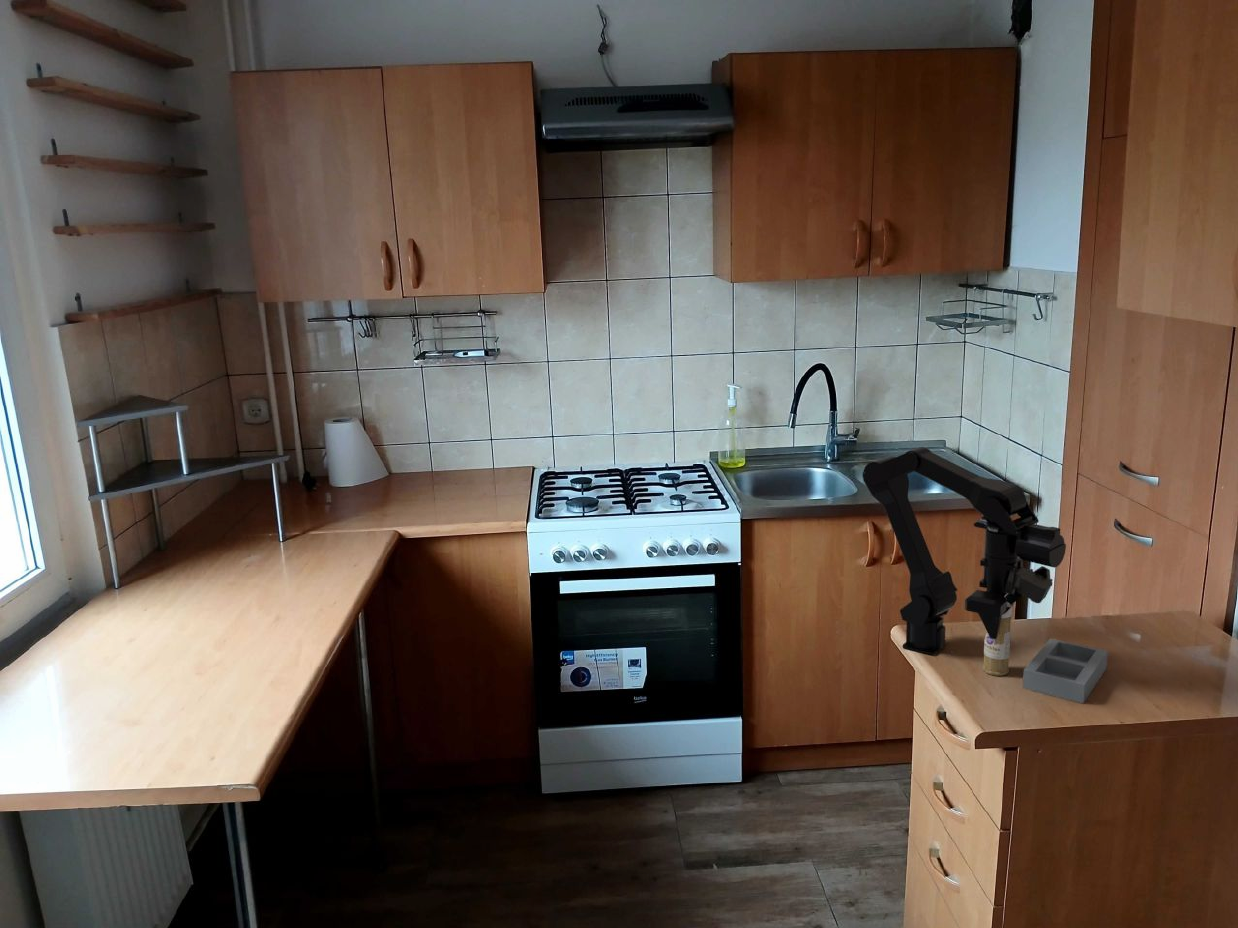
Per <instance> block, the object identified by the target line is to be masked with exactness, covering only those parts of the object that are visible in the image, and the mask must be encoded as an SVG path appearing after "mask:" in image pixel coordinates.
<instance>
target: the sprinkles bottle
mask: <svg viewBox="0 0 1238 928" xmlns="http://www.w3.org/2000/svg"><path fill="white" fill-rule="evenodd" d="M1007 607H1011V608H1010V609H1009V610H1008V611H1007V612H1006V613H1005V614H1003V615H1002V618H1001V622H1000V627H999V631H998V635H997V638H996V639H992V638H990V637H989V635H988V632H987V630H986V628H984V629H985V631H984V642H983V643H984V644H983V666H982V669H983V672H985V673H986V674H988V675H991V676H996V677H998V676H1001V677H1002V676H1005V675H1007V674H1009V671H1010V670H1009V662H1010V661H1009V660H1010V659H1009V658H1010V649H1011V648H1010V646H1011V624H1012V623H1011V622H1012V616H1013V608H1012V605H1011V604H1010V603H1008V602H1007Z"/></svg>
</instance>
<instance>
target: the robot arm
mask: <svg viewBox="0 0 1238 928" xmlns="http://www.w3.org/2000/svg"><path fill="white" fill-rule="evenodd" d="M913 472H915V473H917V474H919V475H920V476H923V477H924V478H927V479H929V480H931V481H933V482H934V483H937V484H938V485H940V486H942V487H944V488H946V489H948V490H950V491H951V492H954V493H955V494H957V495H960V496H961V497H963V498H964V499H966V500H967V501H969V503H970V504H971V505H972V507H973V508H974V510H976V511H977V512H978V513H980V514H981V515H982V516H981V518H979V520H977V521H976V522H974V523H973V527H975V528H979V529H984V530H985V531H984V551H983V552H984V554H983V555H984V556H983V558H981V559H980V561H979V562H980V563H979V566H980V567H983V578H982V579H981V580H980V581H979V583H978V584H979V585H978V586H979V588H985V589H986V590H979V589H976V590H975V591H973V592H972V593H971V594H970V595H968V597H966V598H965V599H964V600H965V601H964V610H966V611H967V612H971V613H976V614H977V615H978V616H979V618H980V620H981V622H982V623H983V627H984V629H986V630H987V632H988V635H989V637H990V638H992V639H996V638H997V635H998V631H999V627H1000V622H1001V618H1002V615H1003V614H1005V613H1006V612H1007V611H1008V610H1009V609H1010V608H1011V607H1007V602H1008V603H1010V604H1011V605H1012V609H1013V607H1014V605H1015V602H1018V601H1019V600H1021V599H1022V598H1023V596H1024V597H1026V598H1028V599H1029V600H1030V601H1031V602H1033V603H1035V604H1041V602H1042V601H1043V600H1044V599H1045V598H1046V597H1047V595H1048V593H1049V591H1050V589H1051V587H1053V579H1052V578H1051V571H1050V569H1049V568H1047V567H1050V568H1057V567H1059V566H1060V565H1061V564H1062V561H1063V560H1064V557H1065V554H1066V549H1067V544H1066V543H1065V539H1064V537H1063V535H1061V528H1060V527H1056V526H1046V525H1041V524H1038V523H1039V519H1038V517H1037V516H1036V514H1035V512H1034V510H1033V509H1032V507H1031V506H1030V504H1029V502H1028V500H1027V496H1026V495H1025V491H1024V490H1023V488H1021V487H1020V486H1019V485H1017V484H1014V483H1010V482H1007V481H1004V480H1001V479H995V478H989V477H988V478H987V477H984V476H980V475H978V474H976V473H974V472H972V471H970V470H968V469H966V468H965V467H962V466H961V465H958V464H956V463H954V462H951V461H950V460H947V459H946V458H944V457H942V456H940V455H937V454H936V453H933V452H932V451H931V450H930V449H929V448H926V447H923V446H920V447H916V448H914V449H910V450H907V451H906V452H904V453H903V454H901V455H898V456H891V455H890V456H887V457H883V458H880V459H876V460H873V461H870V462H868V463H867V464H866V465H865V466H864V468H863V471H862V475H861V476H862V480H863V483H864V484H865V485H866V488H867V490H868V491H869V493H870V495H871V496H872V497H873V498H874V499H875V500H876V501H878V503H880V504H881V505H882V507H883V508H884V511H885V513H886V515H887V518H888V520H889V523H890V526H891V529H892V531H893V533H894V536H895V538H896V542H897V544H898V546H899V549H900V551H901V555H902V557H903V559H904V561H905V563H906V566H907V569H908V572H909V575H910V576H909V586H908V593H909V596H910V600H911V601H910V602H908V603H907V604H906V605H905V606H903V607H902V608H901V609H899V612H900V616H901V619H902V621H904V622H905V623H906V624H905V625H906V628H905V630H906V631H905V642H904V643H903V644H902V648H903V649H907V650H911V651H914V652H919V653H922V654H927V655H930V656H935V655H936V654H937V653H938V652H939V651H940V650H941V649H942V648H944V647H945V645H947V644H946V643H947V641H946V626H945V625H944V617H943V616H946V615H948V613H949V611H950V609H952V608H953V607H954V606H955V604H956V601H958V599H957V598H958V597H957V596H958V595H957V591H958V588H957V587H956V586H955V583H954V581H953V577H952V575H951V573H950V571H948V570H947V571H945V572H942V571H941V570H940V569H939V568H938V567H937V566H936V565H935V562H934V560H933V558H932V555H931V553H930V551H929V547H928V545H927V542H926V540H925V537H924V535H923V532H922V529H921V528H920V524H919V523H918V520H917V517H916V515H915V513H914V510H913V507H912V505H911V502H910V499H909V488H910V487H909V486H910V481H909V476H908V474H911V473H913ZM1015 516H1018V518H1015V519H1012V518H1013V517H1015ZM1024 561H1025V562H1029V563H1034V564H1039V565H1041V566H1040V567H1038V568H1037V569H1035V570H1034V569H1033V568H1030V569H1027V568H1026V567H1024ZM1045 566H1047V567H1045Z"/></svg>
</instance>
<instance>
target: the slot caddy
mask: <svg viewBox="0 0 1238 928" xmlns="http://www.w3.org/2000/svg"><path fill="white" fill-rule="evenodd" d="M1107 664H1108V650H1105V649H1101V648H1100V649H1099V648H1095V647H1092V646H1087V645H1082V644H1078V643H1072V642H1068V641H1063V640H1060V639H1054V638H1049V639H1048V640H1047V642H1046V643H1044V645H1043V647H1041V649H1040V650H1039V651H1038V652H1037V653H1036V655H1035V656H1034V657H1033V658H1032V660H1031V661H1030V662H1029V663H1028V664H1027V665H1026V667H1025V668H1024V669H1023V673H1022V674H1023V678H1022V689H1024V690H1029V691H1032V692H1036V693H1037V692H1038V693H1040V694H1045V695H1049V696H1053V697H1057V698H1060V699H1065V700H1067V701H1072V702H1076V703H1079V704H1084V703H1085V702H1086V700H1087V698H1088V697H1089V695H1091V692H1092V691H1093V689H1094V688H1095V687H1096V685H1097V683H1098V682H1099V680H1101V677H1102V676H1103V674H1104V672H1106V669H1107V666H1108V665H1107Z"/></svg>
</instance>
